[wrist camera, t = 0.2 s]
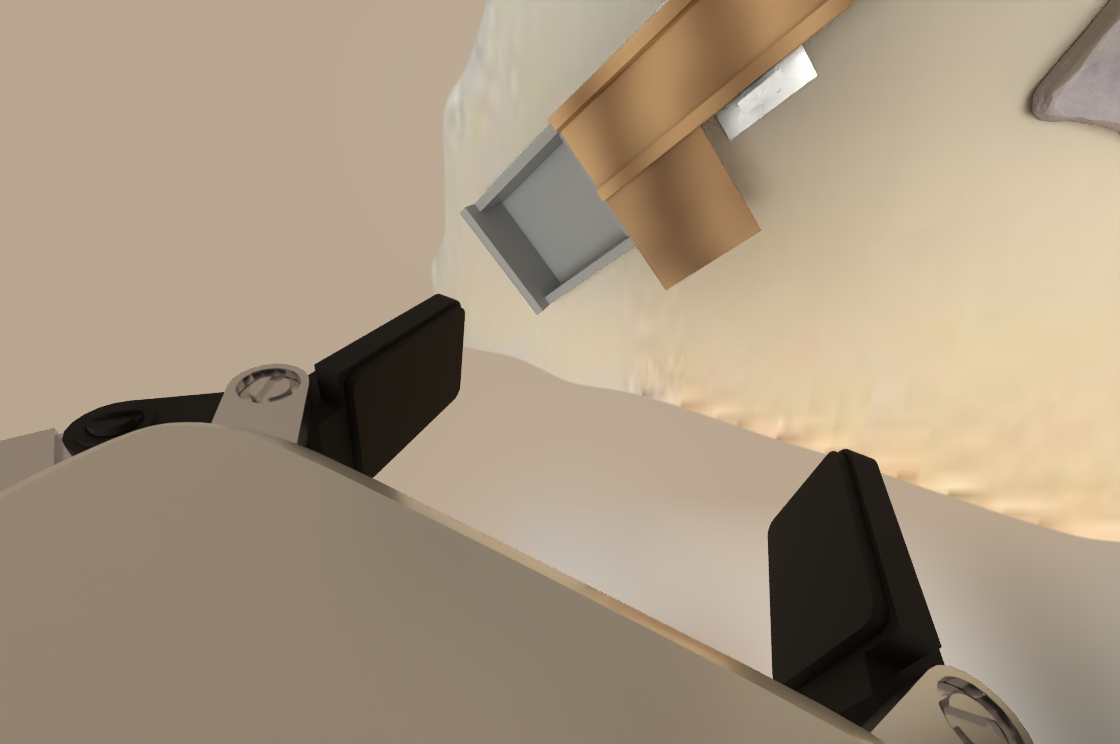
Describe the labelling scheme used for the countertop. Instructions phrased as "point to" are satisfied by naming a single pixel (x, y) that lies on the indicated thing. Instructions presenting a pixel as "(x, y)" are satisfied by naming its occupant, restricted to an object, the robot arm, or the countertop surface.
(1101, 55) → the stone block
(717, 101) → the seesaw
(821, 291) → the countertop surface
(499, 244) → the tray
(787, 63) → the fulcrum
